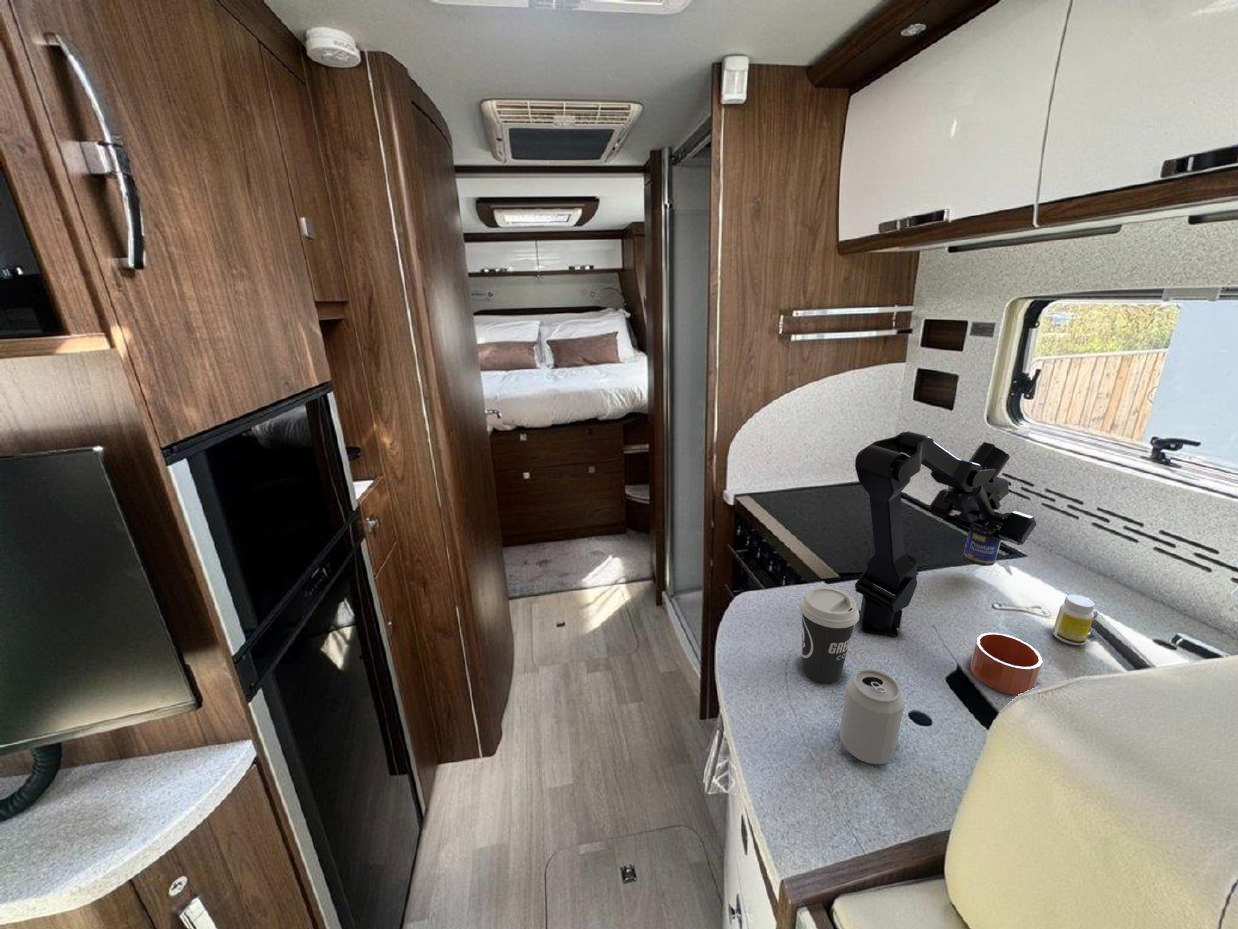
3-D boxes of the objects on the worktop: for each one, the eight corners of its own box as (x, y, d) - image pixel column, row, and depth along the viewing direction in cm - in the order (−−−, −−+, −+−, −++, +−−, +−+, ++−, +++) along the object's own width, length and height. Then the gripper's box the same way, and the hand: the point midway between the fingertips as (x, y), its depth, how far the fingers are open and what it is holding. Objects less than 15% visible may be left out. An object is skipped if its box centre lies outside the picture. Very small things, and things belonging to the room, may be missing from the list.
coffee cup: (814, 696, 84) (823, 622, 79) (782, 658, 93) (789, 589, 88) (862, 683, 87) (874, 610, 82) (826, 647, 95) (835, 580, 90)
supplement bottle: (1091, 647, 93) (1104, 609, 90) (1061, 644, 94) (1073, 607, 91) (1074, 630, 97) (1086, 594, 94) (1046, 628, 98) (1057, 592, 95)
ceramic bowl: (981, 689, 84) (988, 663, 82) (962, 653, 92) (968, 629, 91) (1044, 699, 82) (1053, 673, 80) (1020, 662, 90) (1027, 637, 88)
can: (877, 724, 79) (888, 663, 75) (904, 767, 72) (918, 702, 67) (830, 727, 78) (838, 665, 74) (853, 770, 71) (863, 705, 67)
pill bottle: (963, 563, 113) (973, 519, 110) (961, 551, 118) (971, 508, 115) (996, 569, 110) (1008, 524, 107) (993, 557, 115) (1004, 513, 112)
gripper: (1044, 481, 97) (1057, 520, 105) (946, 455, 113) (965, 491, 121) (1012, 527, 96) (1028, 562, 105) (919, 495, 112) (939, 527, 120)
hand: (988, 532), depth 113 cm, fingers closed on pill bottle, 6 cm apart
